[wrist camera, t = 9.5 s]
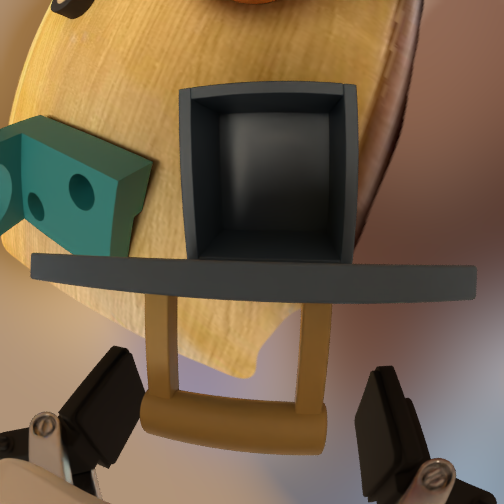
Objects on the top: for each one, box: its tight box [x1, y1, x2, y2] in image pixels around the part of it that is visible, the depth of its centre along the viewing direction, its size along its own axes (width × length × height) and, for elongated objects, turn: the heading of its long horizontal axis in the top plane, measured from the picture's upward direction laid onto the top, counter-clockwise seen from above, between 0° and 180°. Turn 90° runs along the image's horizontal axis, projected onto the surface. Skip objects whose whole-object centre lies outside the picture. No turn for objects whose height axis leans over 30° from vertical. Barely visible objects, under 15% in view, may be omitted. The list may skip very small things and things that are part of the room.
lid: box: [31, 253, 477, 455], centre depth 11 cm, size 12×11×5 cm
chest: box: [179, 81, 358, 264], centre depth 19 cm, size 12×11×8 cm
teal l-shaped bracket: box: [0, 115, 153, 257], centre depth 21 cm, size 18×11×10 cm, turn 64°
